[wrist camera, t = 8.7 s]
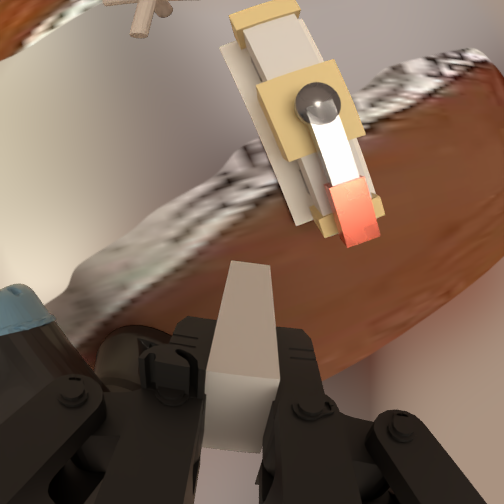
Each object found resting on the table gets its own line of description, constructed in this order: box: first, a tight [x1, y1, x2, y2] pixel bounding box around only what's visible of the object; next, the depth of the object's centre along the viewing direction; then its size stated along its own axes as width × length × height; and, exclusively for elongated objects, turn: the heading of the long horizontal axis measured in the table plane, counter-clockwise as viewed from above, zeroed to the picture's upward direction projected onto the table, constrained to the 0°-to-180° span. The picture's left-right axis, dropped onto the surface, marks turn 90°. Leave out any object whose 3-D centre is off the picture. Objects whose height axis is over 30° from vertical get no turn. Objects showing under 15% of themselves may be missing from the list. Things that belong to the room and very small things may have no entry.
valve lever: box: [294, 82, 380, 248], centre depth 21 cm, size 12×3×2 cm, turn 21°
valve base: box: [219, 0, 385, 238], centre depth 25 cm, size 9×20×10 cm, turn 23°
